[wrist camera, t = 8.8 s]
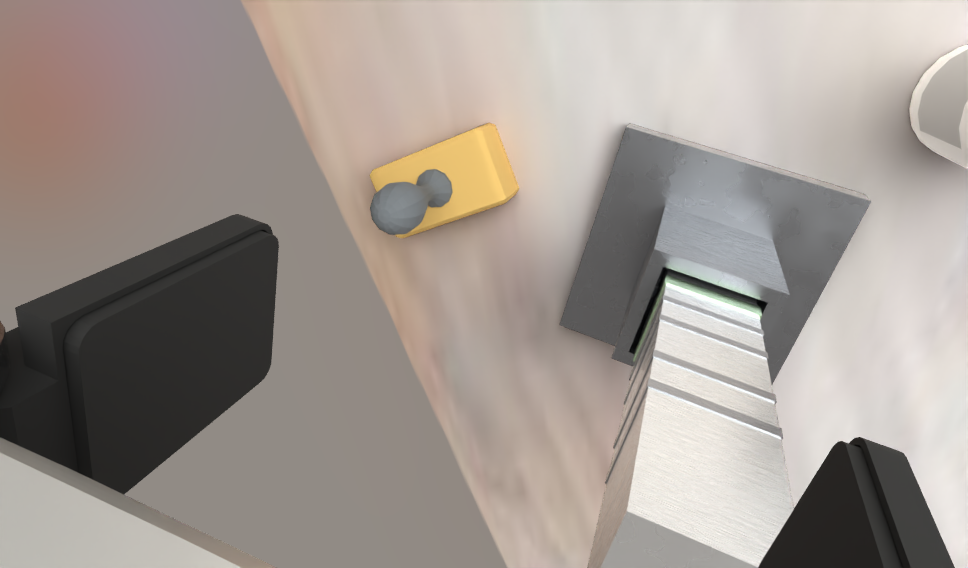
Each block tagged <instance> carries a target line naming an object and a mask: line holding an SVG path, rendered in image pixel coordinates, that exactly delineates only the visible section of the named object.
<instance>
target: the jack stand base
mask: <svg viewBox="0 0 968 568" xmlns="http://www.w3.org/2000/svg"><path fill="white" fill-rule="evenodd" d="M870 203H871V200H870V199H869V198H868V197H867V196H866V195H865V194H863V193H859V192H856V191H853V190H849V189H846V188H843V187H840V186H836V185H833V184H830V183H826V182H823V181H820V180H816V179H813V178H810V177H806V176H803V175H800V174H796V173H793V172H790V171H786V170H783V169H780V168H776V167H773V166H770V165H767V164H763V163H760V162H757V161H753V160H750V159H747V158H743V157H740V156H737V155H733V154H730V153H727V152H723V151H720V150H717V149H713V148H710V147H707V146H704V145H700V144H697V143H694V142H690V141H687V140H684V139H680V138H677V137H674V136H670V135H667V134H664V133H660V132H657V131H654V130H650V129H647V128H644V127H640V126H637V125H634V124H631V123H629V124H628V126H627V127H626V129H625V132H624V135H623V138H622V141H621V144H620V147H619V150H618V153H617V156H616V159H615V162H614V165H613V168H612V171H611V174H610V177H609V180H608V183H607V186H606V189H605V192H604V195H603V197H602V200H601V203H600V206H599V209H598V212H597V215H596V218H595V221H594V224H593V227H592V230H591V233H590V236H589V239H588V242H587V245H586V248H585V251H584V254H583V257H582V260H581V263H580V266H579V269H578V272H577V275H576V278H575V280H574V283H573V286H572V289H571V292H570V295H569V298H568V301H567V304H566V307H565V310H564V313H563V316H562V319H561V322H560V325H561V326H564V327H566V328H569V329H571V330H574V331H577V332H579V333H582V334H585V335H587V336H590V337H593V338H595V339H598V340H601V341H603V342H606V343H609V344H611V345H614V346H615V348H614V351H613V355H612V359H615V360H618V361H620V362H623V363H625V364H628V365H631V366H634V361H633V357H634V352H635V350H636V347H637V345H638V342H639V339H640V335H641V331H642V329H643V326H644V324H645V321H646V319H647V316H648V314H649V311H650V309H651V307H652V304H653V302H654V299H655V297H656V294H657V292H658V289H659V287H660V284H661V282H662V280H663V277H664V275H665V272H666V270H667V268H669V269H672V270H675V271H678V272H681V273H683V274H686V275H689V276H692V277H695V278H698V279H701V280H704V281H707V282H710V283H712V284H715V285H718V286H721V287H724V288H727V289H730V290H733V291H736V292H739V293H741V294H744V295H747V296H750V297H753V298H756V301H757V306H759V307H761V313H762V317H761V319H760V323H761V329H762V330H763V331H764V337H763V340H764V346H765V351H766V352H767V353H768V361H767V362H768V368H769V373H770V379H771V385H772V384H773V382H774V380H775V378H776V376H777V375H778V373H779V371H780V369H781V367H782V365H783V364H784V362H785V360H786V358H787V356H788V354H789V352H790V351H791V349H792V347H793V345H794V343H795V341H796V339H797V338H798V336H799V334H800V332H801V330H802V328H803V327H804V325H805V323H806V321H807V319H808V317H809V315H810V314H811V312H812V310H813V308H814V306H815V304H816V303H817V301H818V299H819V297H820V295H821V293H822V291H823V290H824V288H825V286H826V284H827V282H828V280H829V278H830V277H831V275H832V273H833V271H834V269H835V267H836V266H837V264H838V262H839V260H840V258H841V256H842V254H843V253H844V251H845V249H846V247H847V245H848V243H849V241H850V240H851V238H852V236H853V234H854V232H855V230H856V229H857V227H858V225H859V223H860V221H861V219H862V217H863V216H864V214H865V212H866V210H867V208H868V206H869V204H870Z"/></svg>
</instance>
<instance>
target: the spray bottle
mask: <svg viewBox="0 0 968 568" xmlns="http://www.w3.org/2000/svg"><path fill="white" fill-rule="evenodd" d="M909 112H910V119H911V127H912V128H913V130H914V132H915V134H916V135H917V137H918V139H919V140H920V142H922V143H923V144H924V145H926V146H927V147H928V148H929V149H931V150H932V151H933V152H935V153H937V154H939V155H941V156H943V157H945V158H947V159H948V160H950V161H952V162H954V163H956V164H958V165H960V166H962V167H964V168H966V169H968V44H967V45H964V46H961V47H958V48H957V49H955V50H953V51H951V52H950V53H948V54H946V55H944V56H943V57H941V58H939V59H938V60H937V61H936V62H935V63H934V64H933V65H932V66H931V67H930V68H929V69H928V70H927V71H926V72H925V73H924V74H923V76H922V77H921V79H920V81H919V82H918V84H917V86H916V88H915V89H914V91H913V95H912V99H911V104H910V108H909Z"/></svg>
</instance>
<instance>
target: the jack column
mask: <svg viewBox="0 0 968 568" xmlns="http://www.w3.org/2000/svg"><path fill="white" fill-rule="evenodd" d="M761 317H762V313H761V307H759V306H757V301H756V298H753V297H750V296H747V295H744V294H741V293H739V292H736V291H733V290H730V289H727V288H724V287H721V286H718V285H715V284H712V283H710V282H707V281H704V280H701V279H698V278H695V277H692V276H689V275H686V274H683V273H681V272H678V271H675V270H672V269H669V268H667V270H666V272H665V275H664V277H663V280H662V282H661V284H660V287H659V289H658V292H657V294H656V297H655V299H654V302H653V304H652V307H651V309H650V311H649V314H648V316H647V319H646V321H645V324H644V326H643V329H642V331H641V335H640V339H639V342H638V345H637V347H636V350H635V352H634V357H633V361H634V366H633V370H632V372H631V374H630V378H629V380H630V383H629V388H628V392H627V394H626V397H625V400H624V409H623V414H622V418H621V423H620V427H619V431H618V435H617V437H616V440H615V443H614V447H613V448H614V453H613V458H612V462H611V466H610V469H609V471H608V474H607V478H606V482H605V484H606V488H605V493H604V497H603V501H602V506H601V510H600V514H599V519H598V523H597V528H596V532H595V536H594V541H593V545H592V549H591V554H590V558H589V563H588V567H587V568H758V567H759V565H760V563H761V561H762V559H763V558H764V556H765V555H766V553H767V551H768V550H769V548H770V547H771V545H772V543H773V542H774V540H775V539H776V537H777V535H778V534H779V532H780V531H781V529H782V527H783V526H784V524H785V523H786V521H787V519H788V518H789V516H790V515H791V513H792V511H793V510H794V507H793V502H792V496H791V491H790V485H789V479H788V474H787V468H786V463H785V457H784V452H783V446H782V439H783V434H782V429H781V428H779V424H778V418H777V413H776V407H775V404H776V397H775V394H773V390H772V385H771V379H770V373H769V368H768V362H767V361H768V353H767V352H766V351H765V346H764V340H763V337H764V331H763V330H762V329H761V323H760V319H761Z"/></svg>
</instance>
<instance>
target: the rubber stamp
mask: <svg viewBox="0 0 968 568" xmlns="http://www.w3.org/2000/svg"><path fill="white" fill-rule="evenodd" d="M370 178H371V180H372V183H373V185H374V187H375V190H376V192H377V193H376V194H375V195H374V197H373V200H372V203H371V206H370V211H371V216H372V220H373V221H374V223H375V224H376V225H377V227H378V228H379V229H380V230H382V231H384V232H386V233H388V234H390V235H395V236H396V237H399V238H405V237H408V236H411V235H414V234H417V233H420V232H423V231H426V230H429V229H432V228H435V227H437V226H440V225H443V224H446V223H449V222H452V221H455V220H458V219H461V218H464V217H467V216H470V215H473V214H476V213H478V212H481V211H484V210H487V209H490V208H493V207H496V206H499V205H502V204H504V203H506V202H507V201H508V200H510V199H511V198H512V197H513V196H514V195H516V193H517V191H518V190H519V186H518V184H517V181H516V178H515V176H514V173H513V171H512V168H511V165H510V163H509V160H508V157H507V155H506V152H505V149H504V147H503V144H502V141H501V139H500V136H499V133H498V131H497V128H496V125H494V124H491V123H487V124H485V125H482V126H480V127H477V128H475V129H472V130H470V131H467V132H465V133H462V134H460V135H457V136H455V137H453V138H450V139H448V140H445V141H443V142H440V143H438V144H435V145H433V146H430V147H428V148H426V149H423V150H421V151H418V152H416V153H413V154H411V155H408V156H406V157H403V158H401V159H399V160H396V161H394V162H391V163H389V164H386V165H384V166H381V167H379V168H376V169H374V170H372V172H371V174H370Z"/></svg>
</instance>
